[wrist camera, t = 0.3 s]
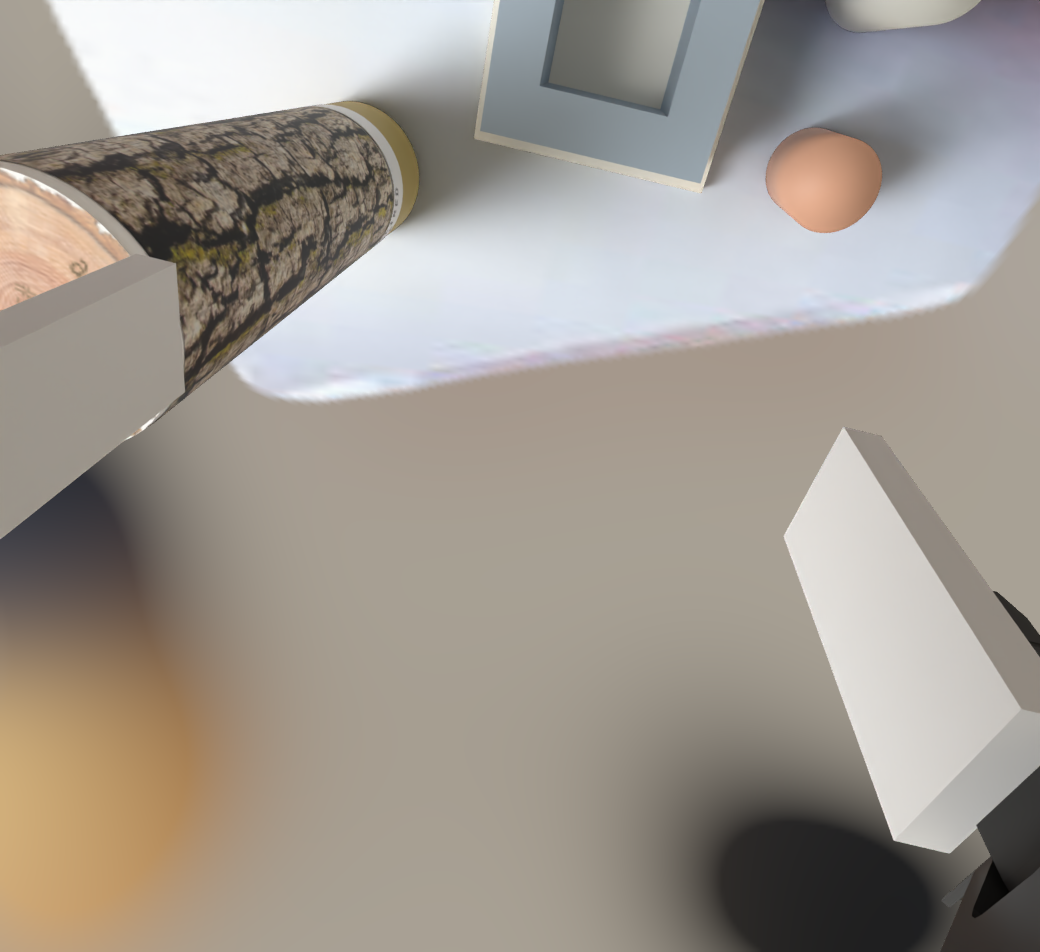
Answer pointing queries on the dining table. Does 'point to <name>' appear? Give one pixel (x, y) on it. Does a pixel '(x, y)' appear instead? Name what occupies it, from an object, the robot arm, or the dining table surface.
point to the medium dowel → (895, 13)
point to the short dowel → (823, 179)
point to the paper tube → (211, 215)
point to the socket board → (616, 82)
